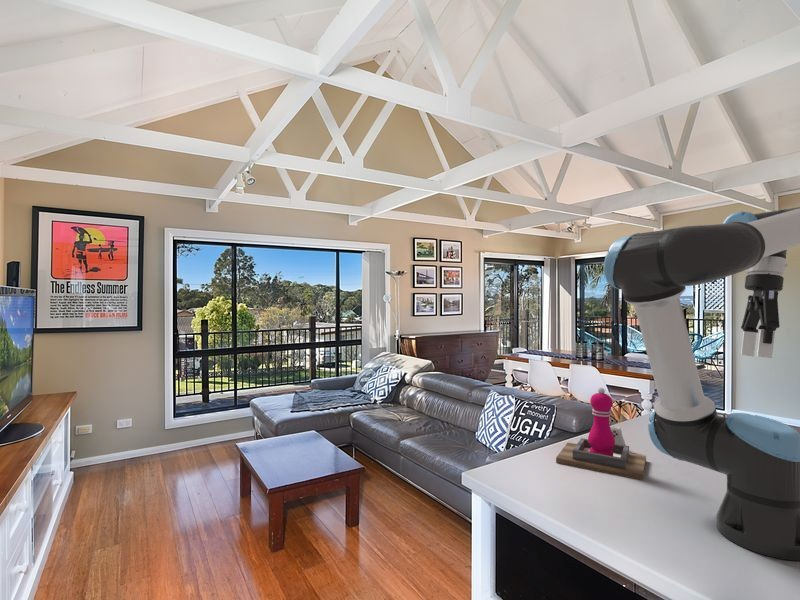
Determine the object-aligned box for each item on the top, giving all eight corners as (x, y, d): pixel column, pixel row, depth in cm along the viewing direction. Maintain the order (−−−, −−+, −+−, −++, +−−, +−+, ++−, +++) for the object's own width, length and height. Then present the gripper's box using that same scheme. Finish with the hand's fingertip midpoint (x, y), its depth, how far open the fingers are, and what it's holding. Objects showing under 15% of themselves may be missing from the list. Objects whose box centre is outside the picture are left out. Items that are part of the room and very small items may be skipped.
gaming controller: (590, 443, 141) (590, 422, 142) (597, 441, 144) (597, 420, 144) (620, 452, 133) (620, 430, 133) (627, 450, 135) (627, 428, 135)
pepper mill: (599, 461, 121) (600, 391, 121) (582, 452, 127) (582, 386, 128) (620, 459, 122) (620, 389, 123) (602, 450, 129) (602, 385, 130)
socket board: (642, 479, 112) (642, 464, 112) (556, 462, 124) (556, 448, 124) (646, 461, 126) (645, 447, 126) (567, 447, 138) (567, 434, 138)
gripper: (803, 268, 97) (793, 360, 97) (766, 282, 120) (757, 357, 119) (762, 266, 101) (752, 355, 100) (733, 280, 123) (724, 352, 122)
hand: (755, 356), depth 109 cm, fingers open, 13 cm apart
